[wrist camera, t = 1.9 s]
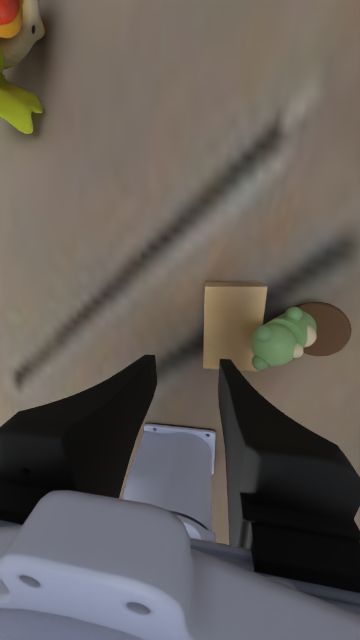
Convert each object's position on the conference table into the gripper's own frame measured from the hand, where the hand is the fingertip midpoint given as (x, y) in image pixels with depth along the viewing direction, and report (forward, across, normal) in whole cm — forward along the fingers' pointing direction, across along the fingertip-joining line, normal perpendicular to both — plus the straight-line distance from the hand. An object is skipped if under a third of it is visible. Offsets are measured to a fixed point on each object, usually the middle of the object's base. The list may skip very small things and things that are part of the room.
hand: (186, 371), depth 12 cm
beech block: (+9, -3, 0) cm, 10 cm away
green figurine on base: (+9, -9, 0) cm, 13 cm away
